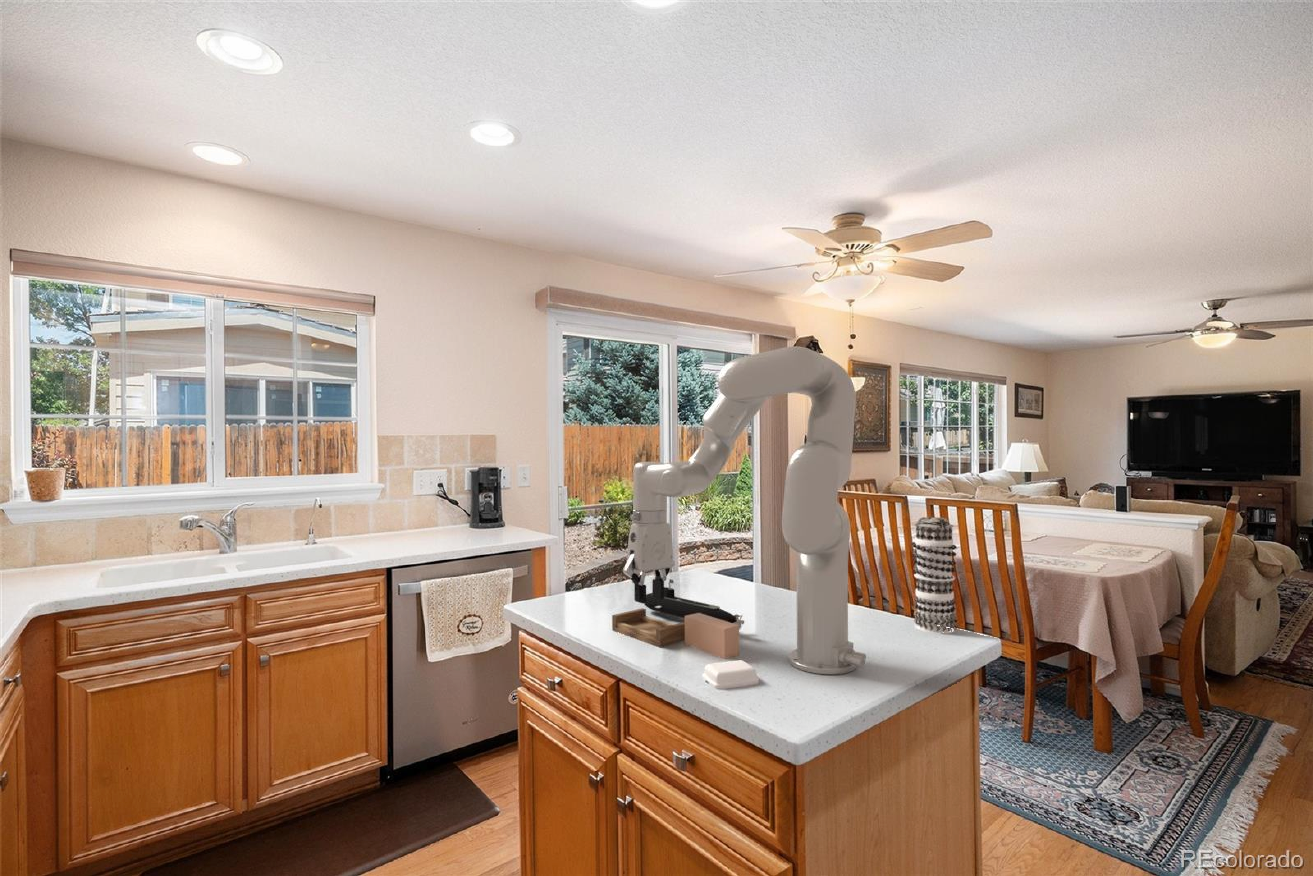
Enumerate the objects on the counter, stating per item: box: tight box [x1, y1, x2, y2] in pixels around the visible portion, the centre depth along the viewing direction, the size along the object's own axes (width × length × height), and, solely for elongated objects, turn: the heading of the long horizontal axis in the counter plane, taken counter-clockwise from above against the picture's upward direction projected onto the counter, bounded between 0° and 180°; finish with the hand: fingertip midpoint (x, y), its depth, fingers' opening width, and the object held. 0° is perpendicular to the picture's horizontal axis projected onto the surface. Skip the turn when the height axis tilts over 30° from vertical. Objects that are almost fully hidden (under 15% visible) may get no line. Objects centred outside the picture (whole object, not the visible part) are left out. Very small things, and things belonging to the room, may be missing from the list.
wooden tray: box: [611, 607, 685, 648], centre depth 140 cm, size 16×9×4 cm, turn 42°
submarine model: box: [643, 578, 745, 630], centre depth 148 cm, size 31×7×10 cm, turn 43°
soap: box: [701, 659, 760, 690], centre depth 113 cm, size 9×7×3 cm
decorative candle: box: [911, 516, 958, 634], centre depth 143 cm, size 9×9×25 cm
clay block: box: [684, 613, 740, 660], centre depth 130 cm, size 12×4×6 cm, turn 38°
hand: (649, 599), depth 140 cm, fingers open, 4 cm apart
